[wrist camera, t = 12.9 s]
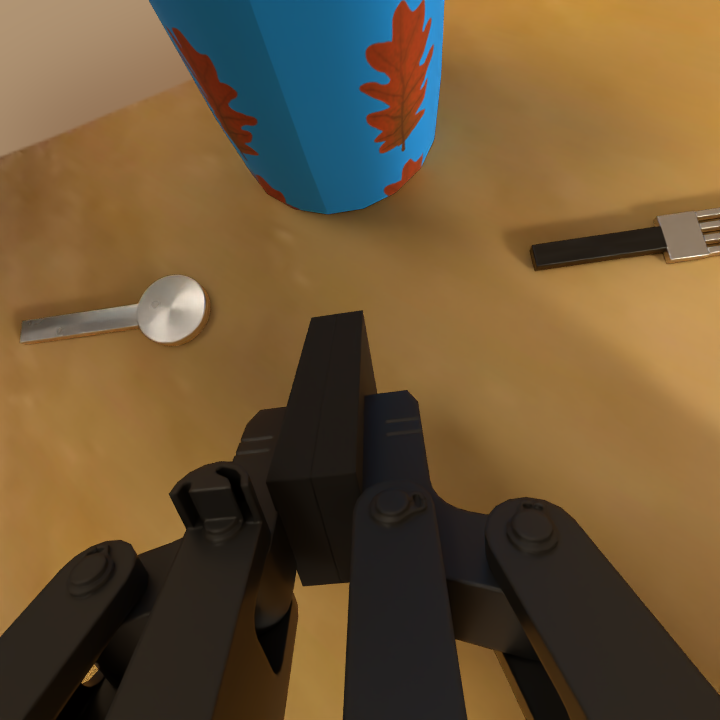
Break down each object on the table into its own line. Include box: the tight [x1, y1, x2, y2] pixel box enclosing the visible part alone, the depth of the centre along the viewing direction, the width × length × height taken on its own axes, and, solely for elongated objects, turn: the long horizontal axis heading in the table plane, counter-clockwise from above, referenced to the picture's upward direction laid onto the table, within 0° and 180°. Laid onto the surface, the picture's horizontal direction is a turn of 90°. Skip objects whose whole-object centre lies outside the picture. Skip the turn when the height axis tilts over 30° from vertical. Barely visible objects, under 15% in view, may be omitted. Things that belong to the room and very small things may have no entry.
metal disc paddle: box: [20, 275, 211, 346], centre depth 23 cm, size 10×4×1 cm, turn 96°
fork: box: [530, 208, 720, 271], centre depth 21 cm, size 10×2×1 cm, turn 96°
